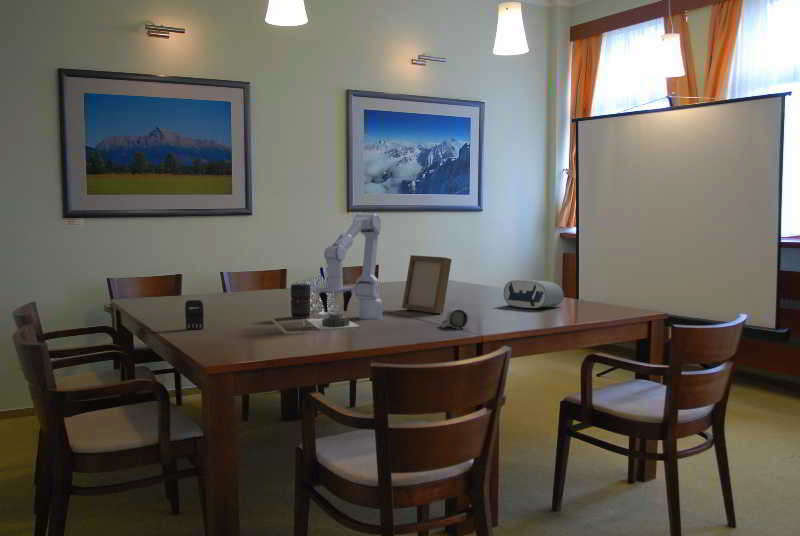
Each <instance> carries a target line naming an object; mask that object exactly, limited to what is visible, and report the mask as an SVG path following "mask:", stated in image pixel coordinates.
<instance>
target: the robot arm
mask: <svg viewBox="0 0 800 536" xmlns="http://www.w3.org/2000/svg"><path fill="white" fill-rule="evenodd" d="M381 224H382V220H381V218H380V216H379V215H378V213H356V214H355V215H354V216H353V218H352V223H351V225H350V226H349V228H348V229H347V231H346V232H345V233H340V234H339V236H338V237H337V239H336V240H335V241H334V242H333V244H332V245H328V246H327V247H326V248H325V250H324V253H323V256H324V259H325V263H326V265H327V287H322V288H321V287H320V288H316V291H315V292H316V295H318V297H319V298H320V301H321V303H322V306H323V311H324V313H328V297H329V296H328V294H340V293H341V294H342V296H343V312H348V305H349V302H350V300H351V298H352V296H353V293H354V294H355V296H356V297H357V299H358V319H360V320H373V319H377V320H378V321H383V320H384V319H383V302H382V299H381V298H379V297H380V294H381V281H380V279H378V278H377V277H376V275H375V274H376V267H377V266H376V263H377V256H378V255H377V254H378V246H379V244H378V243H379V235H380V233H381V226H382V225H381ZM359 233H360V234H361V235H363V236H364V237H365V242H364V252H363V260H362V269H361V271H362V272H361V275H359V277H357V278H356V282H355V286H354V287H353V286H344V287H343V285H344V284H343V283H344V281H343V280H344V279H343V275H344V274H343V260H344V259H346V255H347V252H348V250H349V248H350V247H351V246H352V245H353V244H354V240H353V239H354V238H355V237H356V236H357V235H359Z"/></svg>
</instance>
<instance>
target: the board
mask: <svg viewBox="0 0 800 536" xmlns="http://www.w3.org/2000/svg"><path fill="white" fill-rule="evenodd" d="M305 319H306V321H307V322H309V323H310V324H311V325H313V326H314V327H316V329H317V330H316V331H318V332H328V331H327V330H332V331H345V330H346V329H349V330H360V329H361V327H360V326H359V324H357V323H354V322H353V321H351V320H350V319H349V318H347V317H344V316H342V321H329V317H326V318H305Z"/></svg>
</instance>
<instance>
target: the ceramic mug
mask: <svg viewBox="0 0 800 536" xmlns="http://www.w3.org/2000/svg"><path fill="white" fill-rule="evenodd" d="M468 321H469V317H468V314H467V312H466V311H465V310H464V309H462V308H459V307H458V308H457V307H455V308H454V307H453V308H452V309H450V310H448V312H447V314H446V319H445V320H442V321H441V322H439V324H438V325H439V327H441V328H440V329H442V328H443V329H444V328H447V327H448V326H450V327H451V328H453V329H455V328H457V327H458V329H457V330H461V328H462V329H463V328H465V327H466V326H467V324H468Z"/></svg>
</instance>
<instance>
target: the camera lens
mask: <svg viewBox="0 0 800 536" xmlns="http://www.w3.org/2000/svg"><path fill="white" fill-rule="evenodd" d="M290 299H291V300H290V313H291V317H292V319H295V320H301V319H302V320H304V319H310V317H311V284H309V283H291V286H290Z"/></svg>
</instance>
